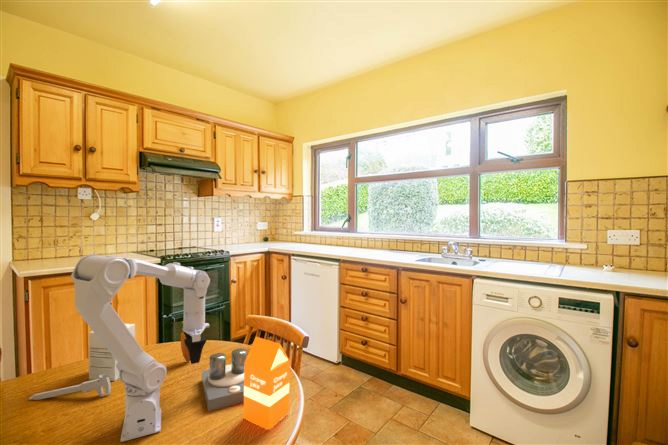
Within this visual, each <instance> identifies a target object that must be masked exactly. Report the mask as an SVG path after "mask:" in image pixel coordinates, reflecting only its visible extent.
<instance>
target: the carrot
mask: <svg viewBox="0 0 668 445" xmlns="http://www.w3.org/2000/svg"><path fill="white" fill-rule="evenodd" d="M181 324H182V325H183V324H184V320H183V321H181ZM184 339H186V336H185V334H184V332H183V331H182V332H181V334H180V348H181V353H182V356H183V358H184V360H185V361H186V362H187V363H190V356H189V351H188V348H187V347H186V345H185V343H184Z"/></svg>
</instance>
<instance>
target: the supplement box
mask: <svg viewBox="0 0 668 445" xmlns="http://www.w3.org/2000/svg"><path fill="white" fill-rule="evenodd" d="M124 324H125V325H126V327H127V328H128V330H129V331H130V332H131V334H132V335H133V337H134V338H135V339H136V324H135V323H124ZM117 363H118V362H117V361H116V359H115V358H114V357H113V356H112V354H111V353H110V352H109V351H108V349H107V348H106V347H105V345H104V344H103V343H102V342H101V340H100V339H99V338H98V337H97V335H96V334H95V333H94V332H93V330H92V331H90V332H88V380H90V381H91V380H96V379H99V376H100V375H102V376H103V375H105V374H106V377H109V380H110V382H116V381H117V380H118V379H119V380H120V378H119V371H118V369H117V367H116V365H117Z"/></svg>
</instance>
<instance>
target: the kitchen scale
mask: <svg viewBox="0 0 668 445" xmlns="http://www.w3.org/2000/svg"><path fill="white" fill-rule="evenodd" d="M201 383H202V387H203V393H204V398H205V401H206V407H207V410H208V412H211V411H215V410H219V409H222V408H226V407H230V406H233V405H237V404H241V402H242V403H244V373H242V374H233V373H232V372H231V364H226V369H225V377H224V378H222V379H220V380H211V379H210V378H209V369H206V370H202V371H201Z"/></svg>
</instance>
